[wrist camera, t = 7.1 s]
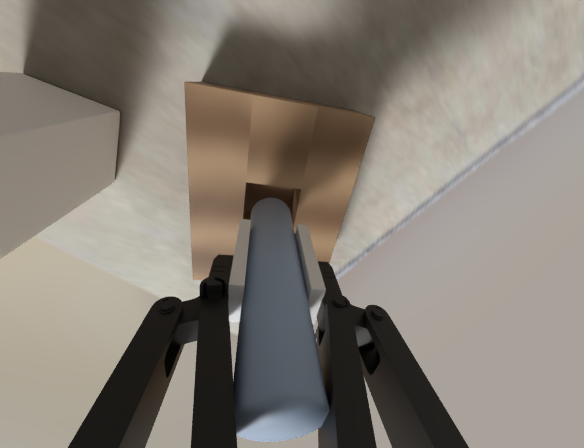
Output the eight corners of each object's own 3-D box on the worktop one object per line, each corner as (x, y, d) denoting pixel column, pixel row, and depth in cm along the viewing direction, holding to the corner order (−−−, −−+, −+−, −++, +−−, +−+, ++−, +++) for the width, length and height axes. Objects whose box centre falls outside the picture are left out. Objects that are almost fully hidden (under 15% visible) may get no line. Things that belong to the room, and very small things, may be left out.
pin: (252, 195, 20) (231, 395, 7) (293, 200, 21) (341, 393, 8) (249, 230, 22) (227, 443, 9) (287, 234, 22) (317, 438, 10)
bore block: (201, 81, 20) (184, 81, 16) (354, 110, 23) (375, 117, 19) (203, 250, 29) (192, 279, 25) (313, 258, 32) (321, 286, 27)
